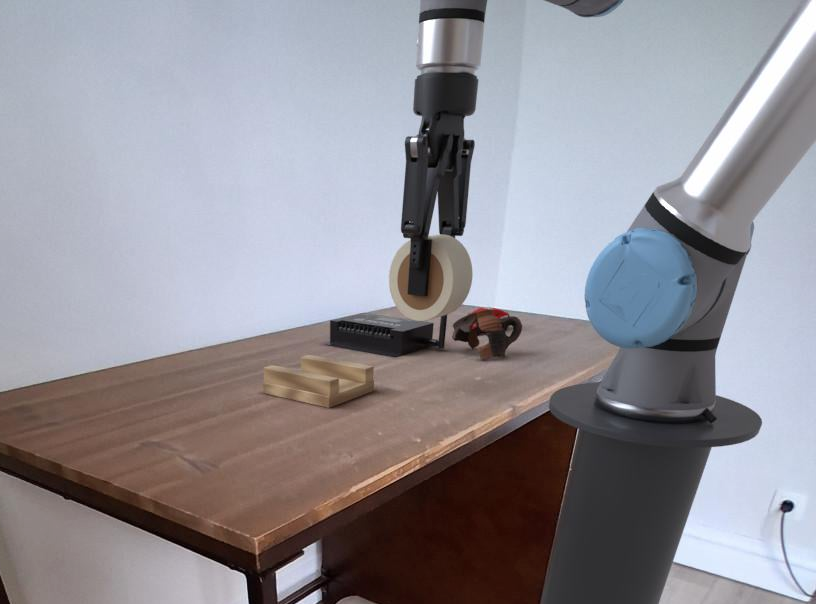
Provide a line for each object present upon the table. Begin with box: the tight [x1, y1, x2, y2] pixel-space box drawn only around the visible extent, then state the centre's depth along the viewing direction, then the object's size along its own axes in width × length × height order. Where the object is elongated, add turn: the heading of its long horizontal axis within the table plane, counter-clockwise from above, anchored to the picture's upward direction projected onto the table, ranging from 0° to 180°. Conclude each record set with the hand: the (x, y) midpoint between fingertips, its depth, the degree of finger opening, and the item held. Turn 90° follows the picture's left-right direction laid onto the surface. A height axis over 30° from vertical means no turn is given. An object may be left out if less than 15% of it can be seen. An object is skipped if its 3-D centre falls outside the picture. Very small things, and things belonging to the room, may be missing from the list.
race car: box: [467, 307, 510, 336], centre depth 135 cm, size 13×5×4 cm, turn 129°
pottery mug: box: [451, 309, 523, 361], centre depth 118 cm, size 12×10×8 cm
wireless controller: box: [325, 312, 448, 358], centre depth 119 cm, size 20×14×17 cm
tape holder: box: [262, 354, 375, 409], centre depth 97 cm, size 12×11×4 cm
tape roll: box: [388, 234, 473, 322], centre depth 91 cm, size 10×6×10 cm, turn 53°
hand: (429, 292), depth 92 cm, fingers closed on tape roll, 6 cm apart
